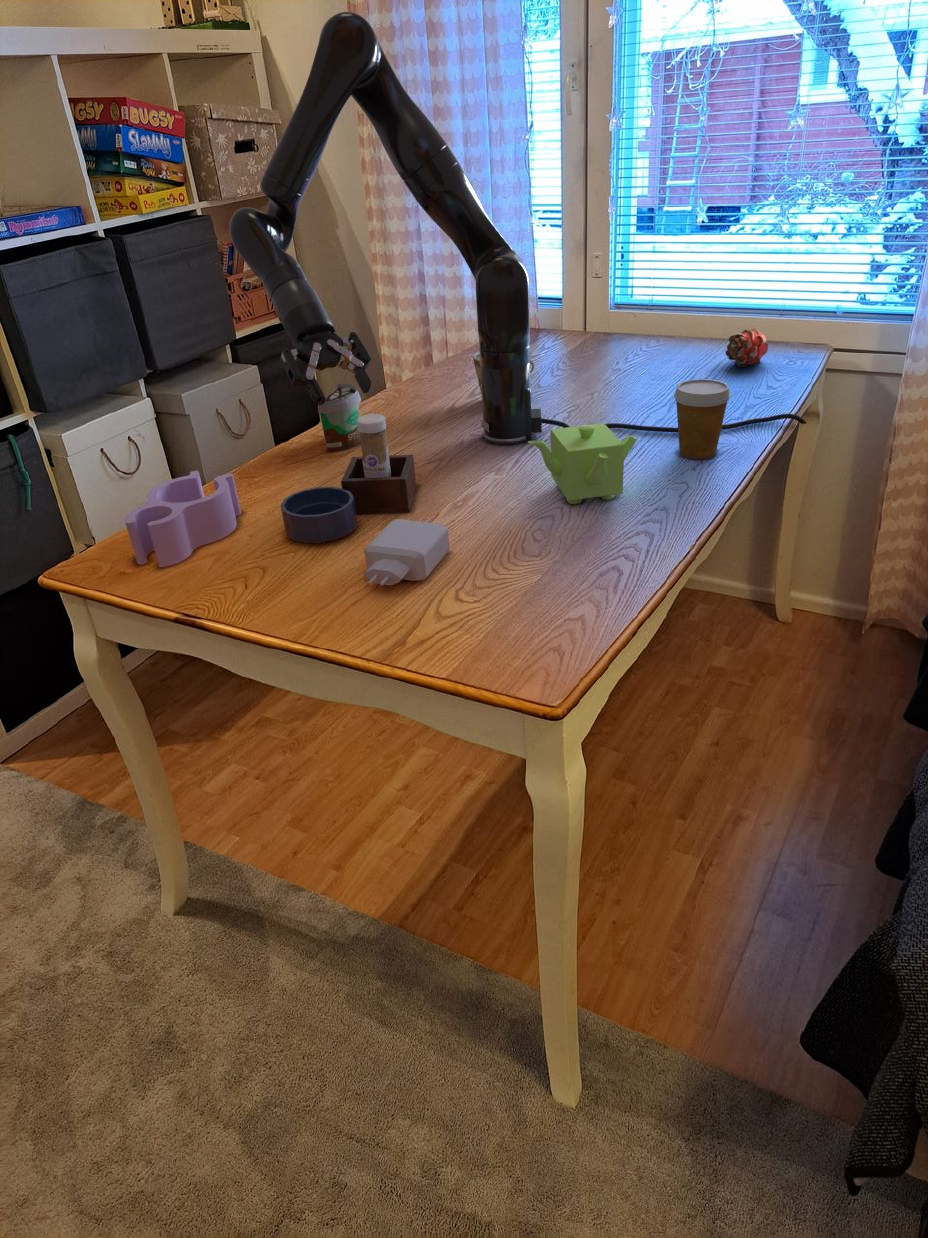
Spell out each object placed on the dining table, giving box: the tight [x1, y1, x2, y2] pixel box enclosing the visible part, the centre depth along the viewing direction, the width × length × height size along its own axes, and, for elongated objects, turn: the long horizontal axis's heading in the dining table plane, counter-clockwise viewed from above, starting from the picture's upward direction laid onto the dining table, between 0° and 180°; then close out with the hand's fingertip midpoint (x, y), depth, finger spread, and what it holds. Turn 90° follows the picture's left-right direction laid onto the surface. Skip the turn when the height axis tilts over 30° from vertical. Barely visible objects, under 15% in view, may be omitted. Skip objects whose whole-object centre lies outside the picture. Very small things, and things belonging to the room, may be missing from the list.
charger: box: [363, 518, 451, 587], centre depth 124 cm, size 5×9×15 cm
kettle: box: [527, 422, 638, 505], centre depth 142 cm, size 15×14×11 cm
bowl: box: [280, 486, 358, 544], centre depth 138 cm, size 11×11×5 cm
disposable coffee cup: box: [673, 378, 732, 460], centre depth 153 cm, size 10×10×12 cm
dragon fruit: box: [725, 328, 769, 368], centre depth 198 cm, size 8×8×12 cm
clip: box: [124, 470, 242, 568], centre depth 139 cm, size 20×12×7 cm, turn 161°
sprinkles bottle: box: [357, 413, 391, 478], centre depth 144 cm, size 5×5×13 cm
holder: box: [340, 454, 417, 515], centre depth 146 cm, size 10×10×6 cm
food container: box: [317, 383, 362, 452], centre depth 170 cm, size 12×6×10 cm, turn 168°
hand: (345, 396), depth 145 cm, fingers open, 8 cm apart
